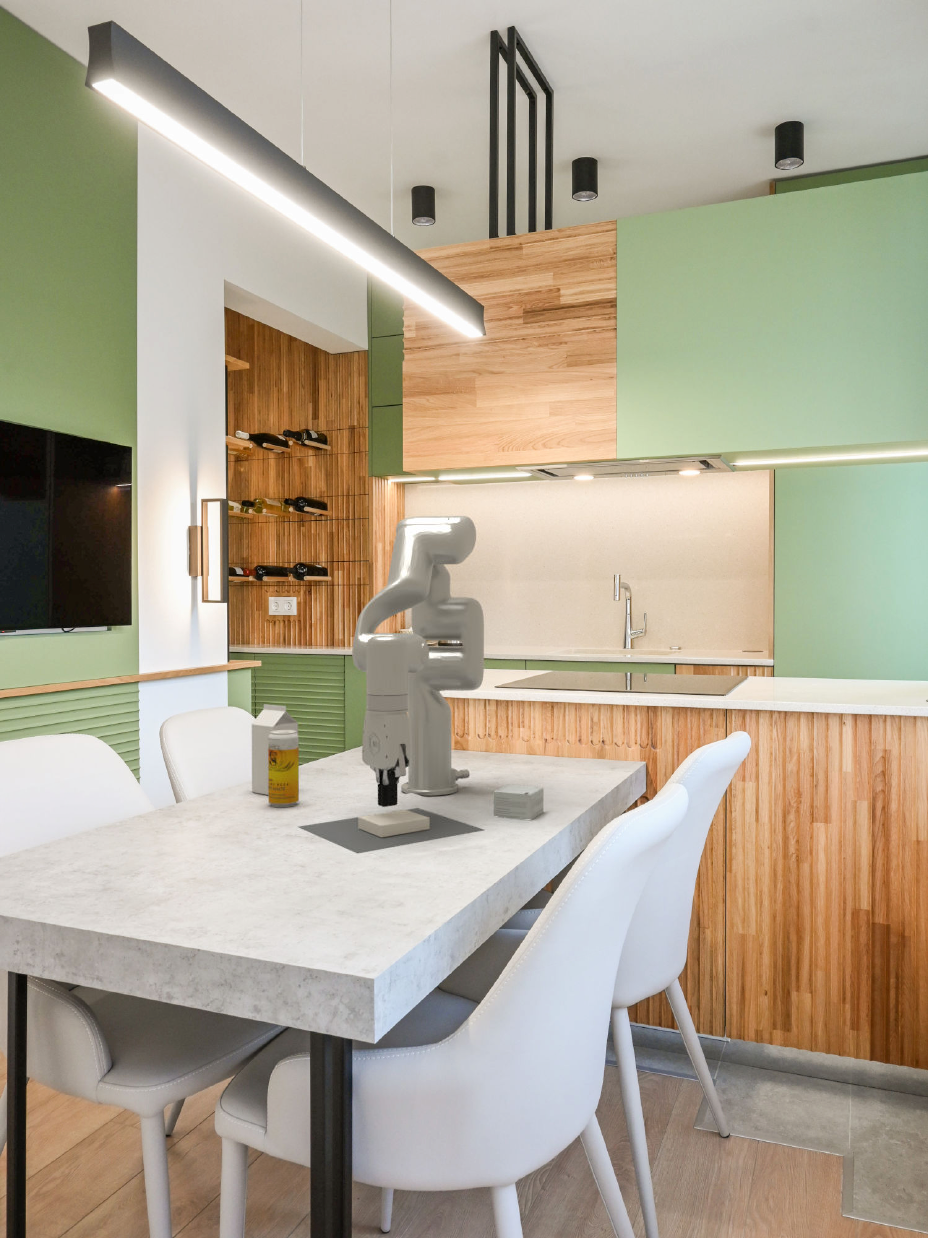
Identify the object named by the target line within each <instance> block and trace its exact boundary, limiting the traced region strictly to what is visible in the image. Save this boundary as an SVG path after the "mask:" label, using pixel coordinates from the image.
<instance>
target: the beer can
mask: <svg viewBox="0 0 928 1238" xmlns="http://www.w3.org/2000/svg"><path fill="white" fill-rule="evenodd" d="M299 740H300V739H299V734H298V735H297V731H295V730H275V731H271V732H270V735H269V737H268V797H267V798H268V803H269V804H270V805H271V807H273V808H291V807H295V806H296V805H297V803H298V802H299V800H300V799H299V798H300V795H299V793H300V792H299V791H300V788H299V786H300V785H299V783H300V782H299V780H300V777H299V776H300V773H299V770H300V767H299V766H300V765H299V761H300V760H299V759H300V758H299V756H300V755H299V754H300V753H299V751H300V750H299Z"/></svg>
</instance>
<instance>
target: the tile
mask: <svg viewBox="0 0 928 1238" xmlns="http://www.w3.org/2000/svg"><path fill="white" fill-rule="evenodd" d="M358 828H359V829H361V830H364V831H366V832H369V833H371V834H374V835H377V836H379V837H387V836H393V835H399V834H405V833H410V832H416V831H422V830H426V829H429V817H426V816H423V815H420V814H417V813H414V812H411V811H408V810H407V809H403V810H402V809H400V810H396V811H389V812H384V813H383V812H382V813H377V814H370V815H363V816H358Z"/></svg>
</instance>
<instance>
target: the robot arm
mask: <svg viewBox="0 0 928 1238" xmlns="http://www.w3.org/2000/svg"><path fill="white" fill-rule="evenodd" d="M395 528H396V529H395V538H394V543H393V547H392V548H393V549H392V554H391V560H390V565H389V572H388V578H387V582H386V586H385V587H383V588H382V589H381V590H380V591H378V592H377V593H376V594H375V595H374V596H372V598H371V599H370V600H369V602H367V604H366V605H365V606H364V607H363V609H362V610H361V612H360V614H359V616H358V619H357V622H356V626H355V631H354V636H353V642H352V651H351V655H352V661H353V665H354V666H355V668H356V669H357V670H358V671H360V672H363V673H365V674H366V676H365V677H366V710H365V714H364V719H363V720H364V721H363V730H362V744H361V745H362V748H361V756H362V757H361V760H362V762H363V763H364V765H366V766H369V768H370V770H372V771H374V773H375V781H376V783H377V805H378V806H380V807H382V808H387V807H393V806H397V805H398V784H399V783H400V777H405V776H408V778H407V779H408V780H407V781H408V782H403V784H401V786H400V790H401V792H403V793H404V794H415V795H417V796H426V797H427V796H444V795H449V794H454V793H457V792H458V791H459V789H460V788H459V784H458V783H456V782H457V781H458V780H459V779H461V780H464V779H468V778H469V777H470V771H469V769H460V770H457V769H456V768H453V767H452V709H451V706H450V704H449V703H448V701H447V700H446V699H445V698H444V696H443V695H442V693H441V692H442V691H443V692H445V691H455V692H456V691H457V692H458V691H459V692H460V691H461V692H462V691H463V692H464V691H465V692H466V691H467V692H468V691H475V690H477V689H479V688H480V687H481V685H482V683H483V681H484V672H485V671H484V670H485V667H484V665H485V664H484V662H485V655H484V654H485V620H484V619H485V617H484V610H483V607H482V605H481V603H480V602H479V601H478V600H477V599H476V598H473V597H467V596H466V597H461V596H460V597H459V596H458V597H452V596H451V575H450V572H449V570H448V569H447V567H446V566H445V565H459V564H462V563H463V562H464V561H465V560H466V559H467V558H468V557H470V555H471V553H473V551H474V549H475V545H476V541H477V529H476V526H475V523H474V522H473V520H472V519H471V518H470V517H469V516H466V515H439V516H438V515H428V516H427V515H424V516H411V517H406V518H403V519H401V520H400V521H398V523H397V524H396V527H395ZM409 609H411V612H410V613H411V616H410V617H411V630H412V633H406V632H405V633H403V632H402V633H400V632H399V633H398V632H396V633H395V632H376V630H377V628H378V627H379V626H380V625H381V624H382V623H384V622H385V621H386V620H388V619H389V618H391V617H393V616H395V615H398V614H400V613H403V612H404V611H407V610H409ZM427 641H440V642H441V641H444V642H445V641H446V642H447V641H448V642H449V641H452V642H453V641H454V642H455V641H457V642H460V643H461V644H462V646H429V645H428V643H427ZM406 768H407V769H406ZM407 771H408V773H407ZM407 774H408V775H407Z"/></svg>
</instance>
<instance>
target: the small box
mask: <svg viewBox="0 0 928 1238" xmlns="http://www.w3.org/2000/svg"><path fill="white" fill-rule="evenodd" d="M543 813H544V787H543V786H542V787H541V786H534V785H518V784H517V785H516V784H506V785H504V786H503V787H501V788H498V789H497V790H495V791H493V817H494V816H498V817H497V818H504V817H506V818H505V819H514V818H519V819H518V820H524V819H530V820H529V821H531V819H532V820H533V819H535V818H536V817H538V816H539V815H541V814H543Z"/></svg>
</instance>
